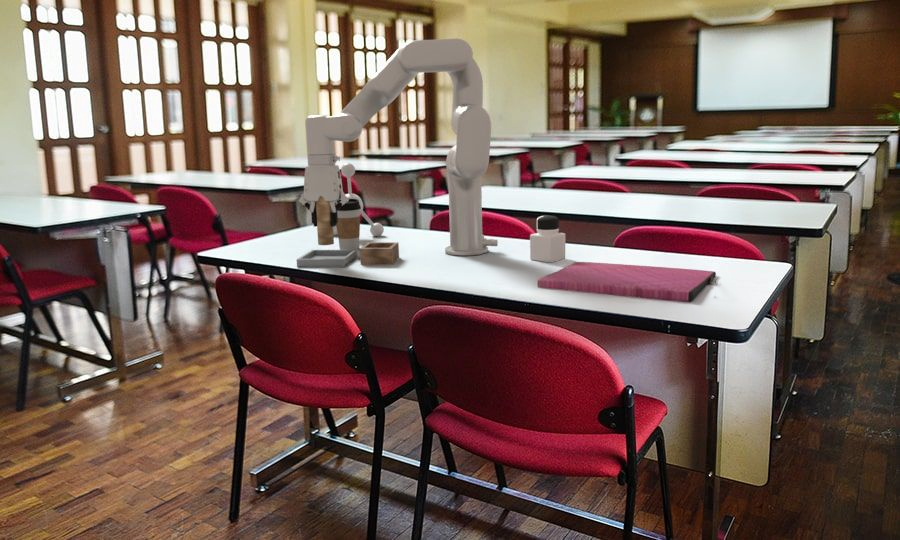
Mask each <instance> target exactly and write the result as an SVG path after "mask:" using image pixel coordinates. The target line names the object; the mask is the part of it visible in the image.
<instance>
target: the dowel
mask: <svg viewBox="0 0 900 540" xmlns="http://www.w3.org/2000/svg"><path fill="white" fill-rule="evenodd" d="M331 210H332V209H331V206H330V202H327V201H325V200H324V198H323V197H322V196H320V197H319V199H318V201H317V202H316V215H317V226H316V228H317V229H316V230H317V243H318V244H317V245H319V246H330V245H334V244H335V241H334V235H333V227H332V226H331V219H330V213H331V212H332V211H331Z"/></svg>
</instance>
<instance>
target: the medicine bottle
mask: <svg viewBox="0 0 900 540" xmlns="http://www.w3.org/2000/svg"><path fill="white" fill-rule="evenodd" d="M559 231H560V218H559V217H557V216H555V215H541V216H538V217H537V218H536V233H531V234H530V235H529V249H530V250H529V252H530V254H529V259H530V260H531V261H535V262H536V261H537V262H542V263H554V262H557V261H561V260H564V259H566V233H564V232H559Z"/></svg>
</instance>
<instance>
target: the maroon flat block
mask: <svg viewBox="0 0 900 540" xmlns="http://www.w3.org/2000/svg"><path fill="white" fill-rule="evenodd" d="M716 275H717V273H716V271H712V270H703V269H701V270H700V269H691V268H679V267H678V268H677V267H664V266H651V265H650V266H648V265H639V264H638V265H635V264H624V263H623V264H622V263H605V262H589V261H575V262H574V263H571V264H570V265H568V266H565V267H563V268H561V269H559V270H557V271H555V272H552V273H550V274H547V275H545V276H543V277H540V278H538V279H537V287H538V288H542V289H550V290H561V291H571V292H582V293H589V294H590V293H591V294H601V295H612V296H620V297H621V296H622V297H631V298H642V299H652V300H664V301H671V302H684V303H685V302H686V303H691V302H692V301H694V299H696V298H697V296H698V295H699V294H700V293H701V291H702V290H703V289H704V288H705V287H706V286H707V285H708V284H709V283H710V285H712V284H713V282H715V283H717V281H716V279H715V277H716Z"/></svg>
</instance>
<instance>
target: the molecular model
mask: <svg viewBox="0 0 900 540" xmlns="http://www.w3.org/2000/svg"><path fill="white" fill-rule="evenodd" d="M340 173H341V175H343V176H344V177H346V179H347V180H346V181H347V190H348V191H347V192H348V193H345V195H346V196H347V198H348V199H358V200H359V204H360V206H361V209H360V215H361V216H362V217H363V218H364V219H365V221H367V223H368V224H369V225H370V227H369V232H370V233H371V235H372V236H373V237H376V236H377V237H380V236H382V235H383V234H384V225H382V224H381V223H380V222H375V223H374V222H373V220H371V218H370V217H369V216H368V215H367V214H366V213H365V211H364V210H363V209H364V203H363V200H362V198H361V196H359V195H357V194H355V193H353V190H352V179H351V177H353V176H354V175H355V174H356V167H355V165H354V164H353V163H351V162H345V163H343V164H342V165H341V168H340ZM333 236H338V233H337V227H336V226H334V227H333Z"/></svg>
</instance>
